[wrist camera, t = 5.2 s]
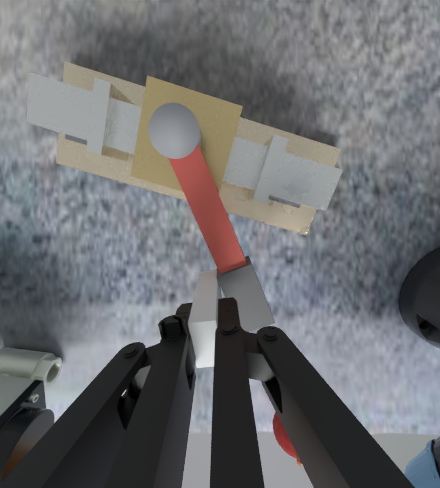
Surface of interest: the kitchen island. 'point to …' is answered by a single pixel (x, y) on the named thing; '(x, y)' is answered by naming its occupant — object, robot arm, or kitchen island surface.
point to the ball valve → (24, 402)
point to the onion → (284, 438)
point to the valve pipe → (212, 146)
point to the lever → (209, 211)
